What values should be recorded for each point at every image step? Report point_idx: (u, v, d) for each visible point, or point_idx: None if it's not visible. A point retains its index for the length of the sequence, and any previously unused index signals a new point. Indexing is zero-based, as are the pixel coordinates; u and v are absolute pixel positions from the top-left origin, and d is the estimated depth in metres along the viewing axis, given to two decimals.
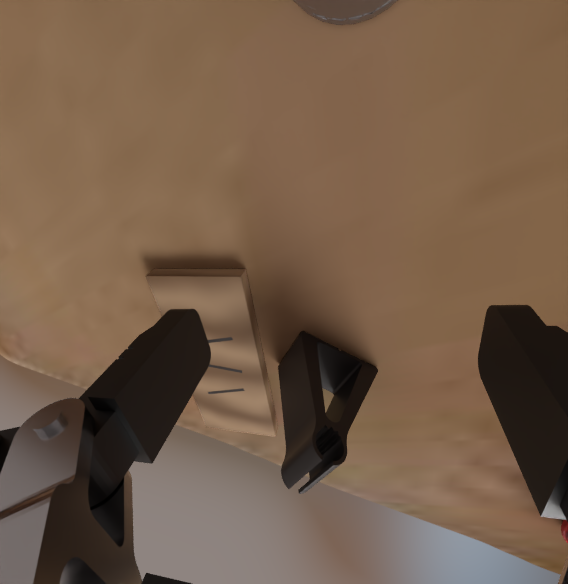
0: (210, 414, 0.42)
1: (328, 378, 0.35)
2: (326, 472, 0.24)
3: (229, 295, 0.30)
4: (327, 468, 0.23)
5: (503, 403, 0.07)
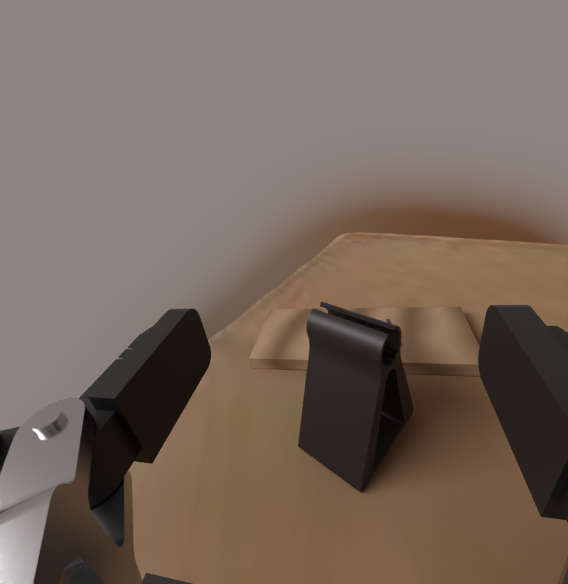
0: (288, 315, 0.42)
1: None
2: (367, 329, 0.20)
3: (460, 353, 0.31)
4: (375, 330, 0.20)
5: (503, 403, 0.07)
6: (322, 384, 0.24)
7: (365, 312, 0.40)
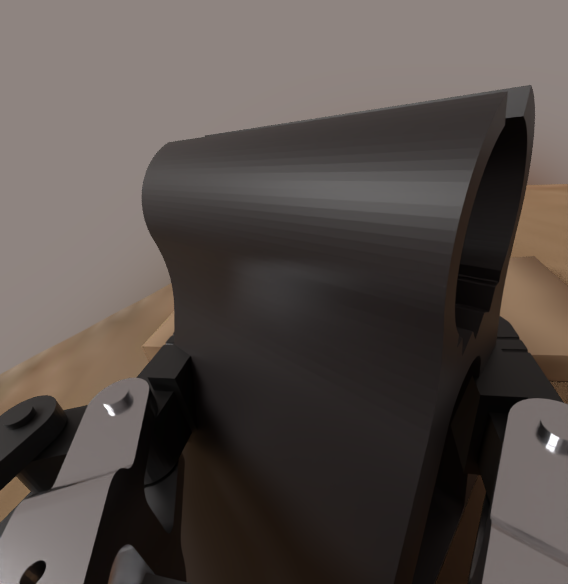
0: None
1: None
2: (359, 120, 0.03)
3: (566, 332, 0.15)
4: None
5: None
6: (210, 415, 0.07)
7: None
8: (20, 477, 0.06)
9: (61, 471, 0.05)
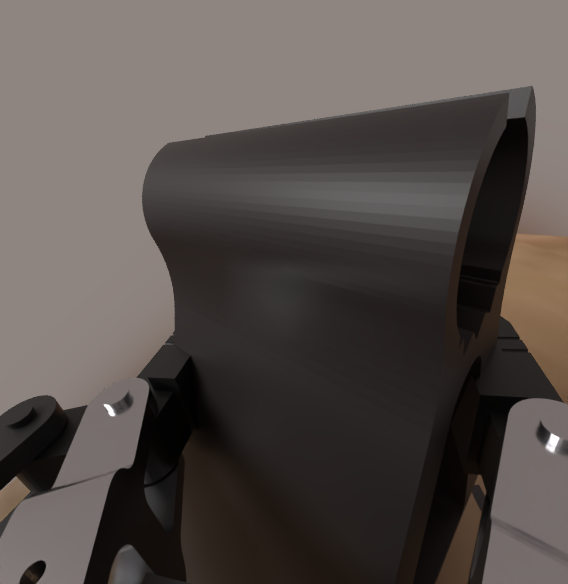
0: None
1: None
2: (360, 121, 0.03)
3: None
4: None
5: None
6: (210, 415, 0.07)
7: None
8: (20, 477, 0.06)
9: (61, 471, 0.05)
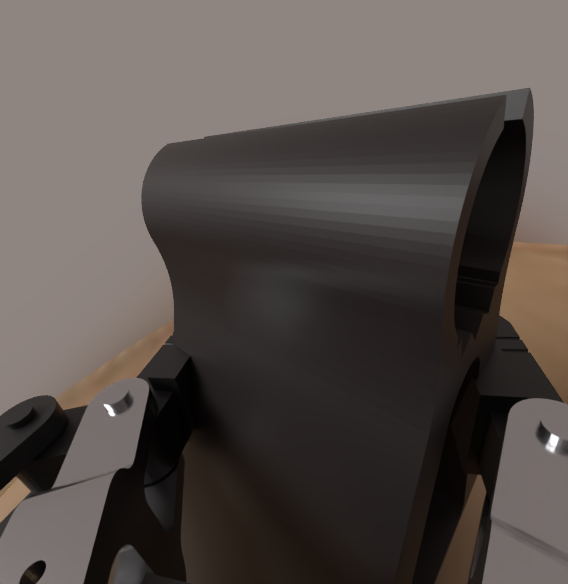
0: None
1: None
2: (358, 122, 0.03)
3: None
4: None
5: None
6: (210, 416, 0.07)
7: None
8: (20, 477, 0.06)
9: (61, 471, 0.05)
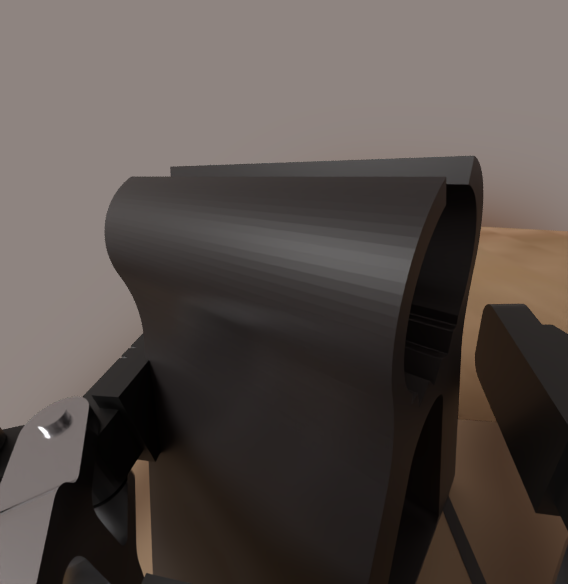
0: None
1: None
2: (311, 185, 0.04)
3: None
4: None
5: (499, 401, 0.07)
6: (182, 449, 0.07)
7: None
8: None
9: None
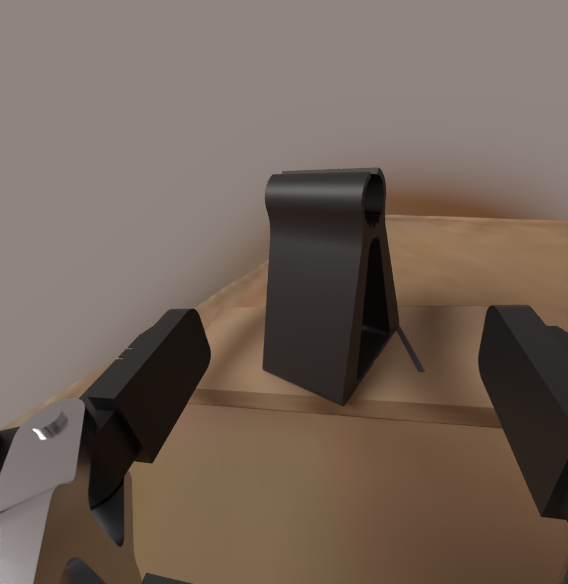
0: (245, 316, 0.28)
1: None
2: (342, 174, 0.15)
3: None
4: None
5: (503, 403, 0.07)
6: (288, 275, 0.19)
7: None
8: None
9: None
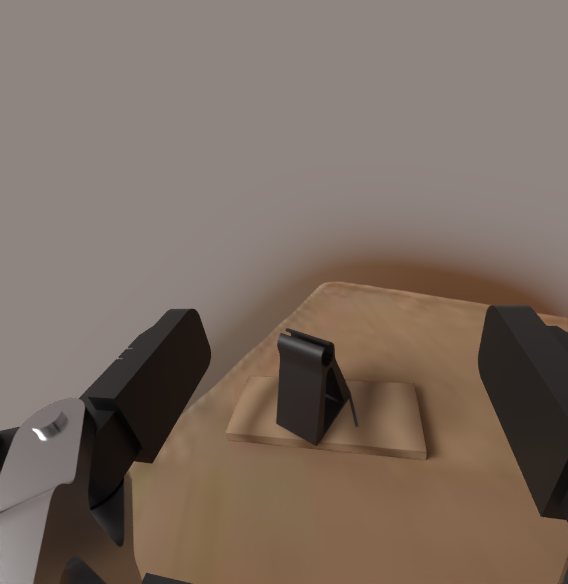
0: (264, 383, 0.47)
1: None
2: (313, 345, 0.34)
3: (405, 437, 0.36)
4: (317, 346, 0.34)
5: (503, 403, 0.07)
6: (289, 380, 0.38)
7: None
8: None
9: None
